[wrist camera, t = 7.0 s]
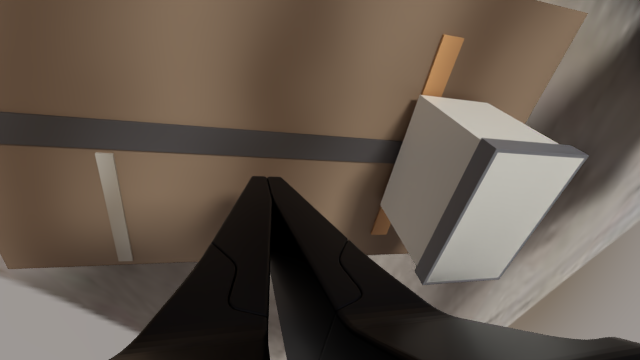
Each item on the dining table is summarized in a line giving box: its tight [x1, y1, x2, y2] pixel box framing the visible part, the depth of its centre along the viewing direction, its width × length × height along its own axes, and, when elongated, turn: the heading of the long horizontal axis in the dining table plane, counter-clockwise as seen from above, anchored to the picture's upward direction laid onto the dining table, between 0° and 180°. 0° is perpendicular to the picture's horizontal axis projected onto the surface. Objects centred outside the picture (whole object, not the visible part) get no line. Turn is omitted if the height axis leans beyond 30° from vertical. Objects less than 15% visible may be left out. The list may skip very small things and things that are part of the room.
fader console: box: [0, 0, 588, 269], centre depth 12 cm, size 20×12×2 cm, turn 79°
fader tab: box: [380, 95, 589, 285], centre depth 11 cm, size 3×5×4 cm, turn 169°
